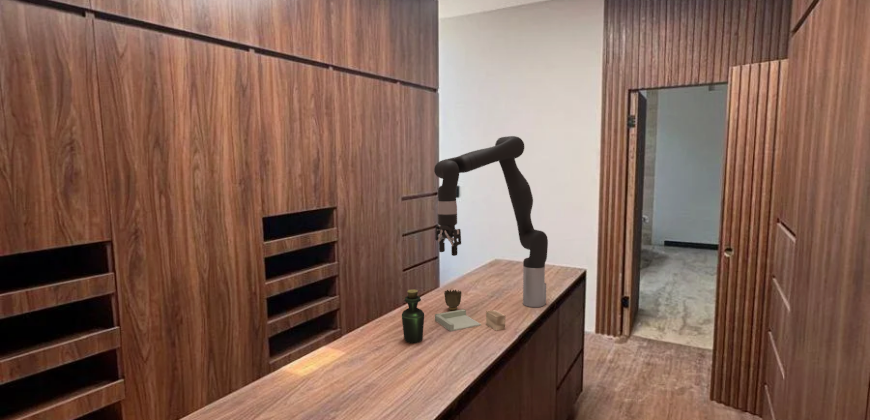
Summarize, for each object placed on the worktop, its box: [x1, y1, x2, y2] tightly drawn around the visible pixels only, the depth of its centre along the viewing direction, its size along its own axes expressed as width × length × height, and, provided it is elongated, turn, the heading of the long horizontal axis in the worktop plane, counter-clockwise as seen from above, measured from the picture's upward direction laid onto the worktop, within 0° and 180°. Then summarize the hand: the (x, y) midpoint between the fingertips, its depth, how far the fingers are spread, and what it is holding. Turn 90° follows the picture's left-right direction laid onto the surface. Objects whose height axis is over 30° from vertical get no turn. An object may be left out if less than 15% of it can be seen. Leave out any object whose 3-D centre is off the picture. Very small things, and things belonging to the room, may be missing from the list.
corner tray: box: [434, 308, 482, 332], centre depth 180 cm, size 14×13×2 cm
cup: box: [444, 289, 462, 312], centre depth 195 cm, size 8×7×8 cm
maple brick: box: [485, 309, 506, 332], centre depth 175 cm, size 4×7×6 cm, turn 26°
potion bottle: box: [401, 289, 425, 344], centre depth 162 cm, size 8×8×18 cm
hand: (448, 253), depth 178 cm, fingers open, 8 cm apart
